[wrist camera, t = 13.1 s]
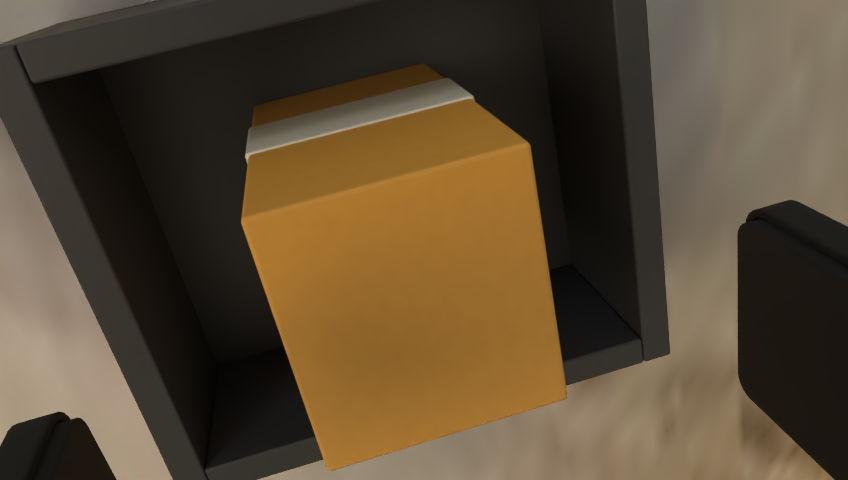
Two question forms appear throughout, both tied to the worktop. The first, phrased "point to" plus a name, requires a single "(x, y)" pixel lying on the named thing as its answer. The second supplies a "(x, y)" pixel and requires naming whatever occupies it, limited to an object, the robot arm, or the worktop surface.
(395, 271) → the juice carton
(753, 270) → the robot arm
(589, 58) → the basket
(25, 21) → the worktop surface
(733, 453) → the worktop surface
